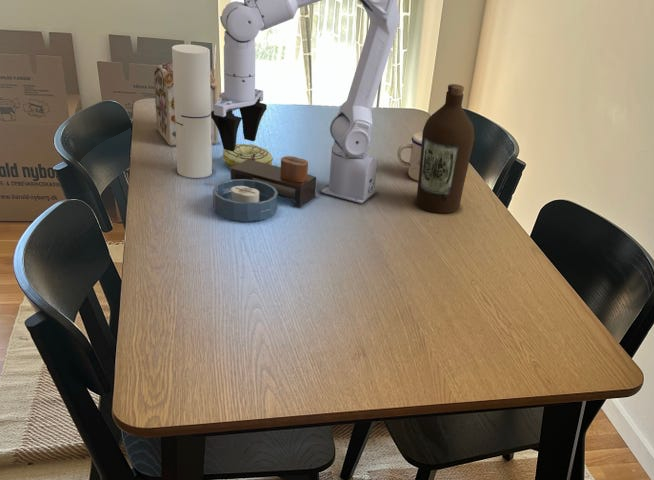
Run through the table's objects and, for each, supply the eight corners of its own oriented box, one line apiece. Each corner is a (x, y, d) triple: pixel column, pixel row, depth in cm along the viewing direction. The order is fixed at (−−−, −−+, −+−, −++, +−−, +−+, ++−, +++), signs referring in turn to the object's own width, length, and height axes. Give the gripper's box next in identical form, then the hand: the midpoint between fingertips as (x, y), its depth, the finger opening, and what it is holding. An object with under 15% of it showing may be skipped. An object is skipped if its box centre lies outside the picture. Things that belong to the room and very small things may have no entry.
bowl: (287, 207, 151) (288, 189, 149) (256, 228, 141) (257, 209, 139) (235, 193, 154) (234, 174, 152) (201, 212, 144) (200, 193, 142)
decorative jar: (156, 130, 180) (151, 50, 170) (204, 128, 185) (202, 51, 175) (168, 147, 171) (164, 64, 161) (219, 144, 176) (217, 64, 166)
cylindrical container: (203, 180, 158) (200, 55, 144) (171, 173, 158) (165, 49, 145) (217, 169, 164) (215, 48, 150) (186, 163, 164) (181, 42, 150)
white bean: (262, 208, 148) (263, 190, 146) (252, 214, 145) (252, 196, 143) (238, 201, 150) (238, 183, 148) (227, 207, 146) (227, 189, 144)
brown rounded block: (310, 178, 154) (311, 160, 152) (301, 183, 151) (302, 166, 149) (286, 171, 155) (286, 154, 153) (276, 177, 152) (277, 159, 150)
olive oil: (423, 191, 167) (440, 75, 154) (468, 203, 165) (489, 86, 151) (405, 206, 159) (421, 85, 145) (452, 219, 156) (472, 97, 142)
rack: (315, 197, 157) (316, 176, 155) (299, 208, 152) (300, 186, 149) (248, 179, 161) (248, 158, 159) (230, 188, 156) (230, 168, 153)
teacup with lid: (442, 171, 180) (449, 122, 173) (448, 185, 172) (456, 135, 166) (392, 167, 178) (398, 118, 171) (397, 181, 170) (403, 130, 164)
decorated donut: (254, 179, 162) (254, 162, 160) (213, 166, 165) (212, 149, 163) (280, 165, 170) (281, 149, 168) (241, 154, 173) (241, 138, 171)
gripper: (241, 62, 147) (241, 131, 155) (198, 76, 136) (200, 149, 143) (273, 69, 145) (271, 139, 153) (233, 84, 134) (233, 158, 141)
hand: (239, 144), depth 148 cm, fingers open, 7 cm apart
